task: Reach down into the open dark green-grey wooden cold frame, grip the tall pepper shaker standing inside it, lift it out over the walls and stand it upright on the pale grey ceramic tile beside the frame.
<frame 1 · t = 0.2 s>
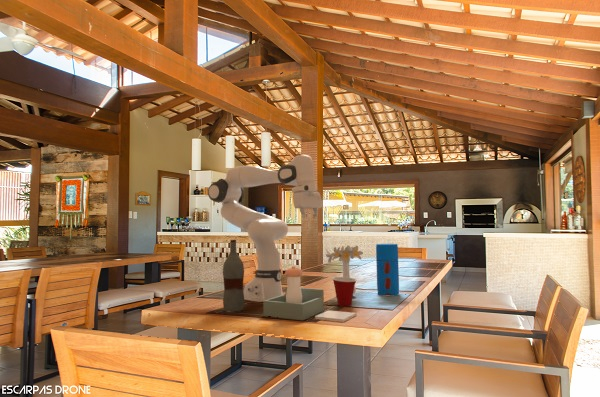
hand: (310, 218, 199), 39 cm above the table, tool pointing down, fingers open, 8 cm apart
cold frame: (294, 313, 175), on the table
pepper shaker: (294, 314, 175), resting in cold frame
ceramic tile: (335, 317, 167), on the table
bottle: (233, 310, 183), on the table
plastic cup: (345, 305, 190), on the table
blue tall boxy piece: (388, 294, 217), on the table
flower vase: (345, 296, 212), on the table
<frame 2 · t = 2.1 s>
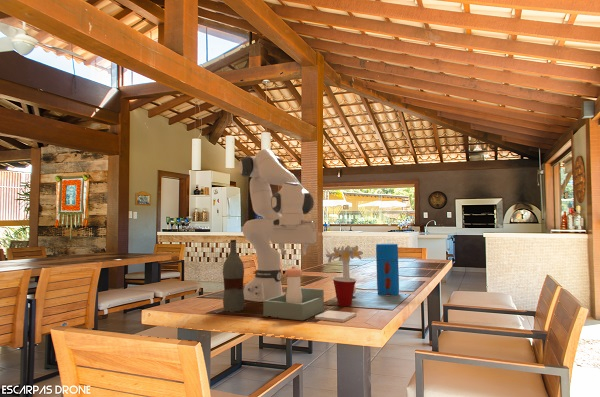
hand: (293, 254, 176), 24 cm above the table, tool pointing down, fingers open, 8 cm apart
nothing on the table moved.
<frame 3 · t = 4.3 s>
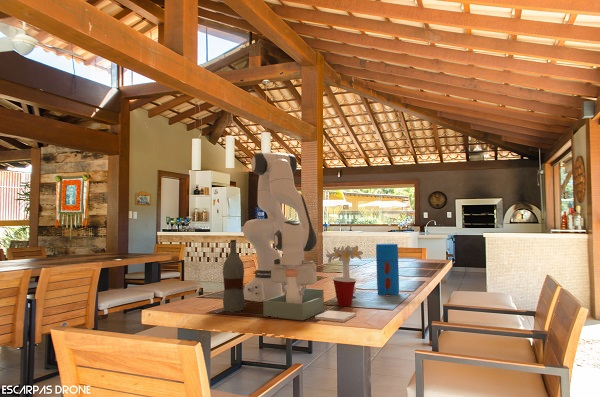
hand: (294, 294, 175), 8 cm above the table, tool pointing down, fingers closed on pepper shaker, 5 cm apart
pepper shaker: (294, 314, 175), resting in cold frame, touching arm, gripper
everything else where it was.
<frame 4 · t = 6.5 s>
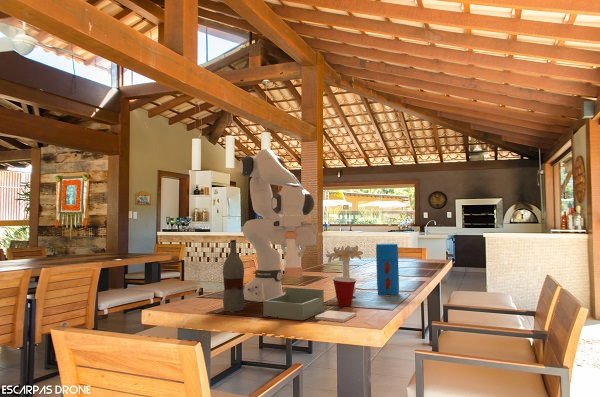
hand: (293, 256, 176), 23 cm above the table, tool pointing down, fingers closed on pepper shaker, 5 cm apart
pepper shaker: (293, 276, 176), point 15 cm above the table, touching gripper
everything else where it was.
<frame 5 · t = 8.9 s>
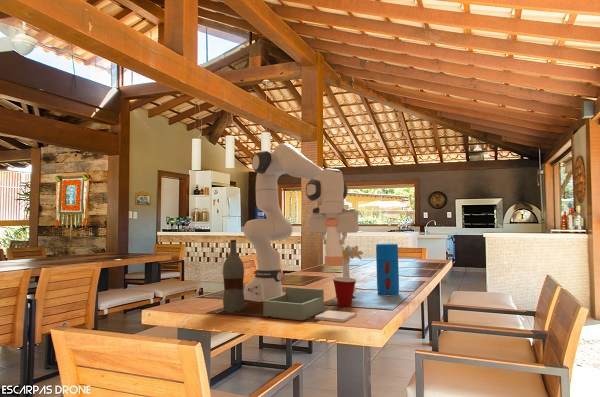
hand: (333, 244, 168), 28 cm above the table, tool pointing down, fingers closed on pepper shaker, 5 cm apart
pepper shaker: (334, 265, 168), point 20 cm above the table, touching gripper
everything else where it was.
when the fingers open (10 cm above the table, at t = 12.5 s): pepper shaker stays where it is, resting on ceramic tile.
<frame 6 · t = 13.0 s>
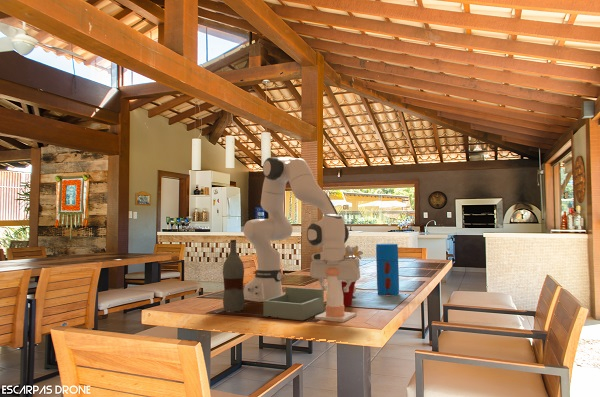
hand: (335, 291, 167), 10 cm above the table, tool pointing down, fingers open, 8 cm apart
pepper shaker: (335, 315, 167), point 1 cm above the table, touching ceramic tile
everything else where it was.
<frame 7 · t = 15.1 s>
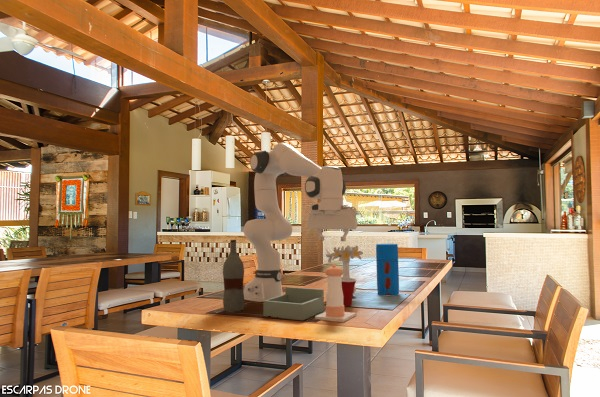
hand: (332, 240, 170), 29 cm above the table, tool pointing down, fingers open, 8 cm apart
nothing on the table moved.
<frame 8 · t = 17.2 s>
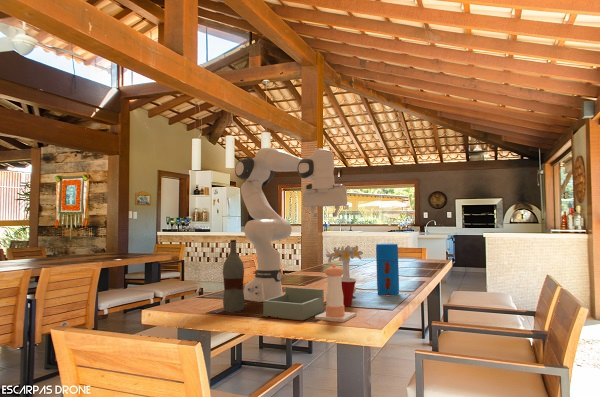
hand: (325, 217, 187), 39 cm above the table, tool pointing down, fingers open, 8 cm apart
nothing on the table moved.
at the end: pepper shaker inside the target area on the ceramic tile (0.2 cm from its centre), point 0.8 cm above the ceramic tile's base; pepper shaker tilted 0°; the gripper is holding nothing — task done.
